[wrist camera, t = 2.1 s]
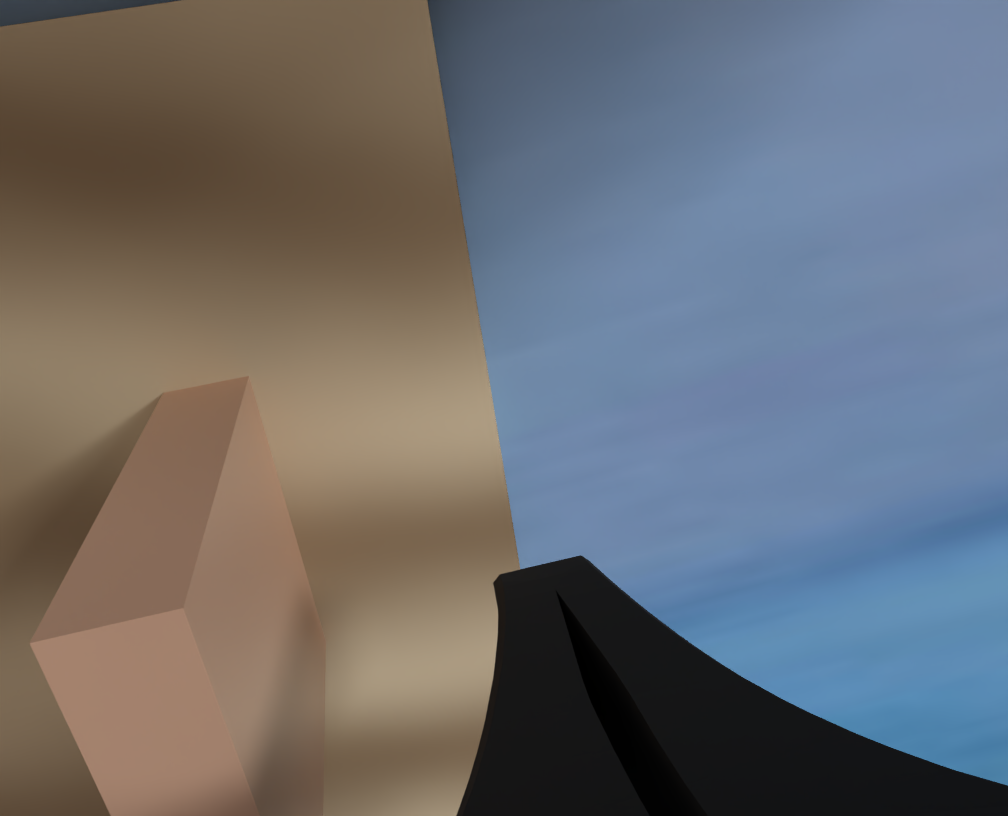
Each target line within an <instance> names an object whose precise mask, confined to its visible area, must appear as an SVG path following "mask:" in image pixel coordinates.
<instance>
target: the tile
mask: <svg viewBox="0 0 1008 816" xmlns="http://www.w3.org/2000/svg"><path fill="white" fill-rule="evenodd" d="M30 646H31V648H32V650H33V652H34V654H35V656H36V658H37V660H38V663H39V665H40V667H41V669H42V671H43V673H44V675H45V677H46V680H47V682H48V684H49V686H50V688H51V690H52V692H53V694H54V696H55V699H56V701H57V703H58V705H59V707H60V709H61V711H62V713H63V716H64V718H65V720H66V722H67V724H68V726H69V728H70V730H71V733H72V735H73V737H74V739H75V741H76V743H77V745H78V747H79V749H80V752H81V754H82V756H83V758H84V760H85V762H86V764H87V766H88V769H89V771H90V773H91V775H92V777H93V779H94V781H95V783H96V786H97V788H98V790H99V792H100V794H101V796H102V798H103V800H104V803H105V805H106V807H107V809H108V811H109V813H110V815H111V816H323V800H324V736H325V672H326V640H325V637H324V633H323V630H322V626H321V623H320V620H319V616H318V613H317V609H316V606H315V602H314V599H313V595H312V592H311V588H310V585H309V582H308V578H307V575H306V571H305V568H304V564H303V561H302V557H301V554H300V550H299V547H298V544H297V540H296V537H295V533H294V530H293V526H292V523H291V519H290V516H289V512H288V509H287V506H286V502H285V499H284V495H283V492H282V488H281V485H280V481H279V478H278V474H277V471H276V468H275V464H274V461H273V457H272V454H271V450H270V447H269V443H268V440H267V436H266V433H265V430H264V426H263V423H262V419H261V416H260V412H259V409H258V405H257V402H256V398H255V395H254V392H253V388H252V385H251V381H250V378H249V376H246V377H241V378H236V379H231V380H225V381H220V382H215V383H210V384H205V385H200V386H195V387H190V388H185V389H180V390H175V391H170V392H165V393H163V394H162V396H161V398H160V400H159V402H158V404H157V406H156V407H155V409H154V411H153V413H152V415H151V417H150V419H149V421H148V422H147V424H146V426H145V428H144V430H143V432H142V434H141V435H140V437H139V439H138V441H137V443H136V445H135V447H134V449H133V450H132V452H131V454H130V456H129V458H128V460H127V462H126V464H125V465H124V467H123V469H122V471H121V473H120V475H119V477H118V478H117V480H116V482H115V484H114V486H113V488H112V490H111V492H110V493H109V495H108V497H107V499H106V501H105V503H104V505H103V507H102V508H101V510H100V512H99V514H98V516H97V518H96V520H95V522H94V523H93V525H92V527H91V529H90V531H89V533H88V535H87V536H86V538H85V540H84V542H83V544H82V546H81V548H80V550H79V551H78V553H77V555H76V557H75V559H74V561H73V563H72V565H71V566H70V568H69V570H68V572H67V574H66V576H65V578H64V580H63V581H62V583H61V585H60V587H59V589H58V591H57V593H56V594H55V596H54V598H53V600H52V602H51V604H50V606H49V608H48V609H47V611H46V613H45V615H44V617H43V619H42V621H41V623H40V624H39V626H38V628H37V630H36V632H35V634H34V636H33V637H32V639H31V641H30Z"/></svg>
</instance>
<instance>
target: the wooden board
mask: <svg viewBox="0 0 1008 816" xmlns="http://www.w3.org/2000/svg"><path fill="white" fill-rule="evenodd" d="M246 376H249V378H250V381H251V385H252V388H253V392H254V395H255V398H256V402H257V405H258V409H259V412H260V416H261V419H262V423H263V426H264V430H265V433H266V436H267V440H268V443H269V447H270V450H271V454H272V457H273V461H274V464H275V468H276V471H277V474H278V478H279V481H280V485H281V488H282V492H283V495H284V499H285V502H286V506H287V509H288V512H289V516H290V519H291V523H292V526H293V530H294V533H295V537H296V540H297V544H298V547H299V550H300V554H301V557H302V561H303V564H304V568H305V571H306V575H307V578H308V582H309V585H310V588H311V592H312V595H313V599H314V602H315V606H316V609H317V613H318V616H319V620H320V623H321V626H322V630H323V633H324V637H325V640H326V672H325V736H324V800H323V816H456V815H457V812H458V810H459V807H460V804H461V801H462V798H463V795H464V792H465V790H466V787H467V784H468V781H469V778H470V774H471V771H472V768H473V764H474V761H475V757H476V754H477V750H478V747H479V743H480V739H481V735H482V731H483V727H484V722H485V718H486V713H487V707H488V702H489V697H490V692H491V686H492V681H493V675H494V667H495V657H496V647H497V637H498V608H497V602H496V596H495V591H494V585H493V582H494V581H495V580H496V578H497V577H498V576H499V575H500V574H503V573H507V572H512V571H516V570H520V566H519V559H518V553H517V547H516V541H515V535H514V529H513V523H512V517H511V510H510V504H509V498H508V492H507V486H506V480H505V474H504V468H503V462H502V455H501V449H500V443H499V437H498V431H497V425H496V419H495V413H494V406H493V400H492V394H491V388H490V382H489V376H488V370H487V364H486V357H485V351H484V345H483V339H482V333H481V327H480V321H479V315H478V308H477V302H476V296H475V290H474V284H473V278H472V272H471V266H470V259H469V253H468V247H467V241H466V235H465V229H464V223H463V217H462V211H461V204H460V198H459V192H458V186H457V180H456V174H455V168H454V162H453V155H452V149H451V143H450V137H449V131H448V125H447V119H446V113H445V106H444V100H443V94H442V88H441V82H440V76H439V70H438V64H437V57H436V51H435V45H434V39H433V33H432V27H431V21H430V15H429V8H428V2H427V0H181V1H174V2H167V3H160V4H153V5H146V6H139V7H133V8H126V9H119V10H112V11H105V12H98V13H91V14H84V15H77V16H70V17H63V18H56V19H50V20H43V21H36V22H29V23H22V24H15V25H8V26H1V27H0V816H111V815H110V813H109V811H108V809H107V807H106V805H105V803H104V800H103V798H102V796H101V794H100V792H99V790H98V788H97V786H96V783H95V781H94V779H93V777H92V775H91V773H90V771H89V769H88V766H87V764H86V762H85V760H84V758H83V756H82V754H81V752H80V749H79V747H78V745H77V743H76V741H75V739H74V737H73V735H72V733H71V730H70V728H69V726H68V724H67V722H66V720H65V718H64V716H63V713H62V711H61V709H60V707H59V705H58V703H57V701H56V699H55V696H54V694H53V692H52V690H51V688H50V686H49V684H48V682H47V680H46V677H45V675H44V673H43V671H42V669H41V667H40V665H39V663H38V660H37V658H36V656H35V654H34V652H33V650H32V648H31V646H30V641H31V639H32V637H33V636H34V634H35V632H36V630H37V628H38V626H39V624H40V623H41V621H42V619H43V617H44V615H45V613H46V611H47V609H48V608H49V606H50V604H51V602H52V600H53V598H54V596H55V594H56V593H57V591H58V589H59V587H60V585H61V583H62V581H63V580H64V578H65V576H66V574H67V572H68V570H69V568H70V566H71V565H72V563H73V561H74V559H75V557H76V555H77V553H78V551H79V550H80V548H81V546H82V544H83V542H84V540H85V538H86V536H87V535H88V533H89V531H90V529H91V527H92V525H93V523H94V522H95V520H96V518H97V516H98V514H99V512H100V510H101V508H102V507H103V505H104V503H105V501H106V499H107V497H108V495H109V493H110V492H111V490H112V488H113V486H114V484H115V482H116V480H117V478H118V477H119V475H120V473H121V471H122V469H123V467H124V465H125V464H126V462H127V460H128V458H129V456H130V454H131V452H132V450H133V449H134V447H135V445H136V443H137V441H138V439H139V437H140V435H141V434H142V432H143V430H144V428H145V426H146V424H147V422H148V421H149V419H150V417H151V415H152V413H153V411H154V409H155V407H156V406H157V404H158V402H159V400H160V398H161V396H162V394H163V393H165V392H170V391H175V390H180V389H185V388H190V387H195V386H200V385H205V384H210V383H215V382H220V381H225V380H231V379H236V378H241V377H246Z"/></svg>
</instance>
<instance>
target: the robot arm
mask: <svg viewBox="0 0 1008 816" xmlns="http://www.w3.org/2000/svg"><path fill="white" fill-rule="evenodd" d="M493 585H494V591H495V596H496V602H497V608H498V637H497V647H496V657H495V667H494V675H493V681H492V686H491V692H490V697H489V702H488V707H487V713H486V718H485V722H484V727H483V731H482V735H481V739H480V743H479V747H478V750H477V754H476V757H475V761H474V764H473V768H472V771H471V774H470V778H469V781H468V784H467V787H466V790H465V792H464V795H463V798H462V801H461V804H460V807H459V810H458V812H457V815H456V816H1008V786H1007V785H1003V784H1000V783H997V782H993V781H990V780H986V779H983V778H979V777H976V776H973V775H969V774H966V773H962V772H959V771H955V770H952V769H949V768H946V767H943V766H940V765H938V764H935V763H932V762H929V761H927V760H924V759H921V758H918V757H915V756H913V755H910V754H907V753H904V752H902V751H899V750H896V749H893V748H891V747H888V746H886V745H883V744H881V743H878V742H875V741H873V740H870V739H868V738H865V737H863V736H860V735H858V734H856V733H853V732H851V731H849V730H847V729H844V728H842V727H840V726H838V725H836V724H833V723H831V722H829V721H827V720H824V719H822V718H820V717H818V716H816V715H813V714H811V713H809V712H807V711H805V710H803V709H801V708H799V707H797V706H795V705H793V704H791V703H789V702H787V701H785V700H783V699H781V698H779V697H777V696H775V695H774V694H772V693H770V692H768V691H766V690H764V689H763V688H761V687H759V686H757V685H755V684H754V683H752V682H750V681H748V680H746V679H745V678H743V677H741V676H740V675H738V674H736V673H735V672H733V671H732V670H730V669H728V668H727V667H725V666H724V665H722V664H721V663H719V662H718V661H716V660H715V659H713V658H712V657H710V656H709V655H707V654H706V653H704V652H703V651H701V650H700V649H698V648H697V647H695V646H694V645H692V644H691V643H689V642H688V641H687V640H685V639H684V638H682V637H681V636H680V635H678V634H677V633H676V632H674V631H673V630H672V629H670V628H669V627H668V626H666V625H665V624H664V623H662V622H661V621H660V620H658V619H657V618H656V617H655V616H653V615H652V614H651V613H649V612H648V611H647V610H646V609H644V608H643V607H642V606H641V605H639V604H638V603H637V602H636V601H634V600H633V599H632V598H631V597H630V596H628V595H627V594H626V593H625V592H624V591H622V590H621V589H620V588H619V587H618V586H617V585H615V584H614V583H613V582H612V581H611V580H610V579H609V578H608V577H606V576H605V575H604V574H603V573H602V572H601V571H600V570H599V569H598V568H596V567H595V566H594V565H593V564H592V563H591V562H590V561H589V560H587V559H586V558H584V557H583V556H576V557H572V558H568V559H563V560H559V561H555V562H550V563H546V564H542V565H538V566H533V567H529V568H525V569H520V570H516V571H512V572H507V573H503V574H500V575H499V576H498V577H497V578H496V580H495V581H494V582H493Z"/></svg>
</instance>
